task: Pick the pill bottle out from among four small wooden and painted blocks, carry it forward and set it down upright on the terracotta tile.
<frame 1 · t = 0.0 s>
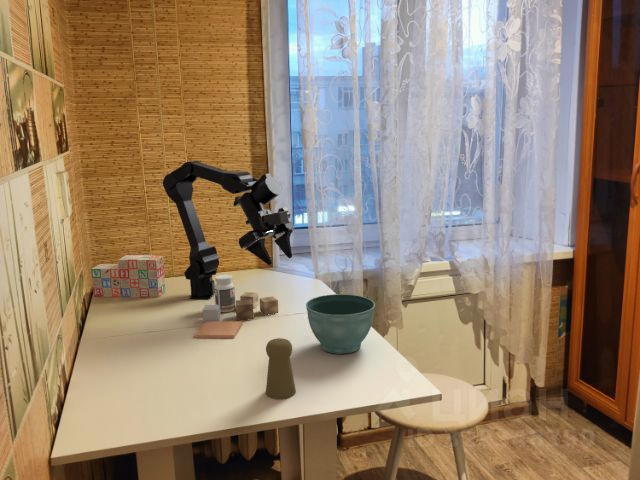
hand: (281, 261, 163), 15 cm above the table, tool tilted 35°, fingers open, 9 cm apart
beech block: (249, 307, 172), on the table
stack of blocks: (130, 295, 187), on the table
olive pawn: (280, 393, 118), on the table
walnut cube: (245, 317, 163), on the table
pill bottle: (225, 310, 170), on the table
terracotta tile: (219, 330, 153), on the table
grey painted block: (212, 321, 160), on the table
oak block: (269, 312, 167), on the table
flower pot: (341, 347, 140), on the table
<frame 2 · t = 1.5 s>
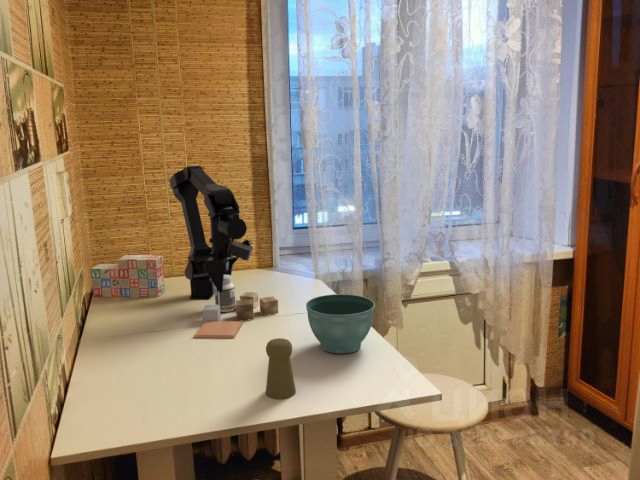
hand: (224, 287, 168), 7 cm above the table, tool pointing down, fingers open, 9 cm apart
nothing on the table moved.
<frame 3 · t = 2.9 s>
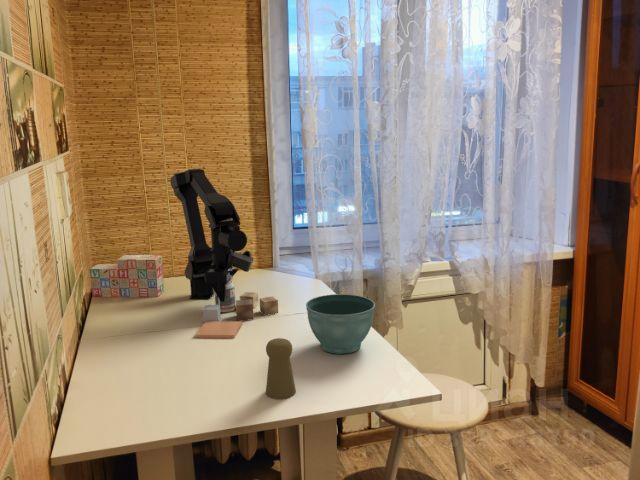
hand: (225, 298, 169), 4 cm above the table, tool pointing down, fingers closed on pill bottle, 6 cm apart
pill bottle: (225, 310, 170), on the table, touching gripper
everything else where it was.
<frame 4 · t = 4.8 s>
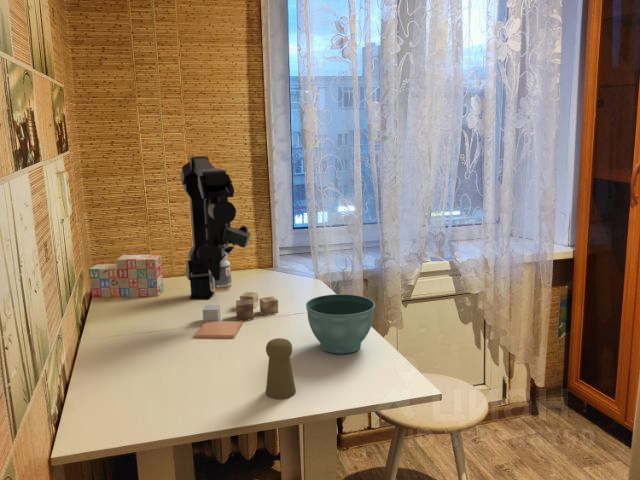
hand: (220, 277, 155), 13 cm above the table, tool pointing down, fingers closed on pill bottle, 6 cm apart
pill bottle: (221, 290, 156), point 9 cm above the table, touching gripper
everything else where it was.
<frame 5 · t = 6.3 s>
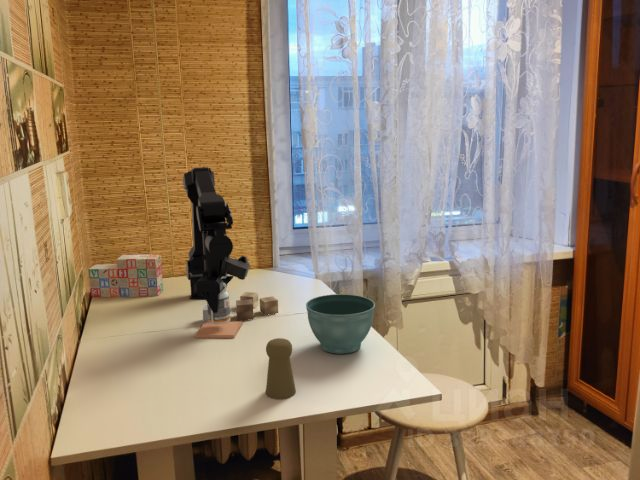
hand: (218, 308, 152), 6 cm above the table, tool pointing down, fingers closed on pill bottle, 6 cm apart
pill bottle: (219, 322, 152), point 2 cm above the table, touching gripper
when the fingers open (6 cm above the table, at t = 7.2 s): pill bottle drops 1 cm, resting on terracotta tile.
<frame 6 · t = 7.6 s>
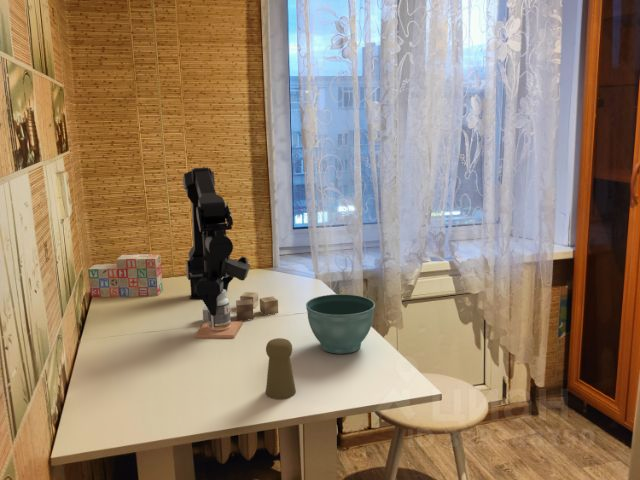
hand: (218, 309, 152), 6 cm above the table, tool pointing down, fingers open, 9 cm apart
pill bottle: (219, 328, 153), point 1 cm above the table, touching terracotta tile
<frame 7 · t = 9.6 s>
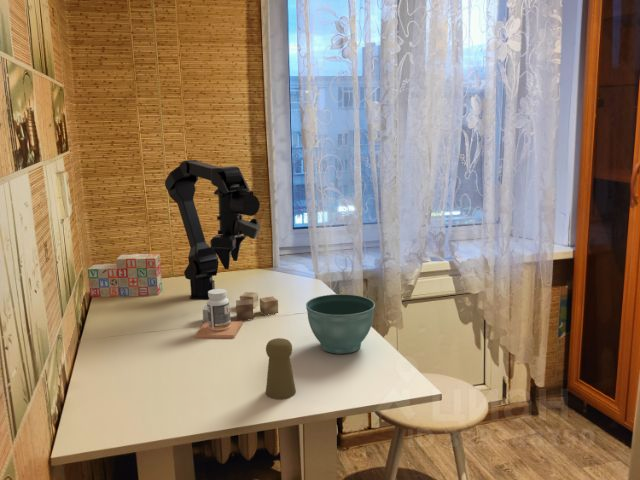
hand: (231, 264, 170), 13 cm above the table, tool pointing down, fingers open, 9 cm apart
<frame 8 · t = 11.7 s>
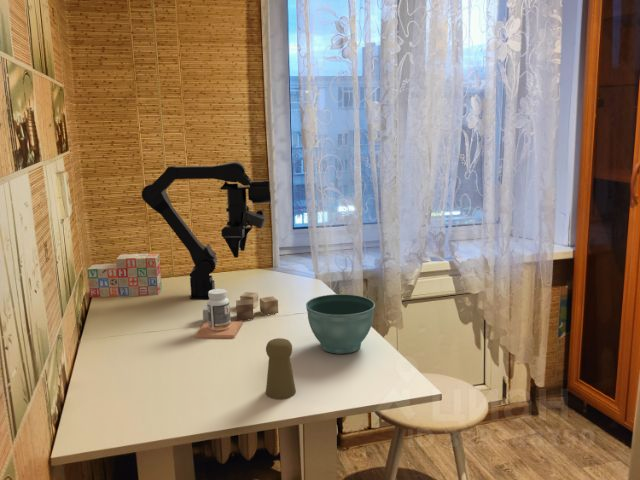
hand: (239, 254, 181), 13 cm above the table, tool pointing down, fingers open, 9 cm apart
at the end: pill bottle inside the target area on the terracotta tile (0.1 cm from its centre), point 0.6 cm above the terracotta tile's base; pill bottle tilted 0°; walnut cube moved 0.1 cm from its start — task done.
